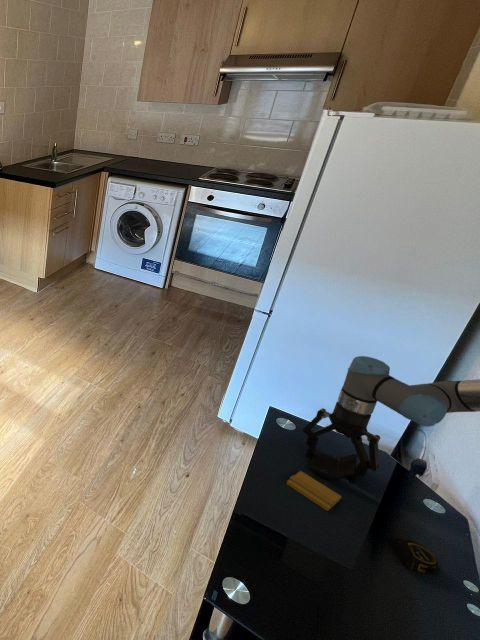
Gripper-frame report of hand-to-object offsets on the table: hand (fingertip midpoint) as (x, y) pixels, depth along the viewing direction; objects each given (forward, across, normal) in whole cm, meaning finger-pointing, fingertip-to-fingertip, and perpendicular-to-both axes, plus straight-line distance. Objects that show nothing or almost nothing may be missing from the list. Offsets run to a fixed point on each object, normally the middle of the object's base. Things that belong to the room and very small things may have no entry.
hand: (330, 468), depth 123 cm
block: (+2, +1, -13) cm, 13 cm away
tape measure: (+2, +22, -16) cm, 27 cm away
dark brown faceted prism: (+1, 0, 0) cm, 1 cm away
